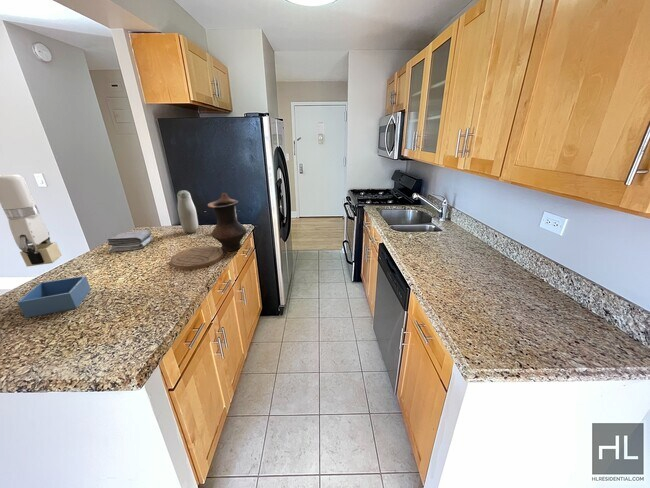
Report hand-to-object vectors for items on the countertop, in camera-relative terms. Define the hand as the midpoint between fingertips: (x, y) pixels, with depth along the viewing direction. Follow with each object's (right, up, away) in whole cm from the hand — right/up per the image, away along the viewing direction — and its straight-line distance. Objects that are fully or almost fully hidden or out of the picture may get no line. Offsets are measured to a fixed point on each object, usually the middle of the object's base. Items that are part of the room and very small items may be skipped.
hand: (44, 258), depth 95 cm
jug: (+49, +3, +54) cm, 74 cm away
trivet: (+37, -2, +41) cm, 55 cm away
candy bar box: (+38, +15, +83) cm, 92 cm away
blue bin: (+2, -17, +5) cm, 18 cm away
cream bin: (0, -1, 0) cm, 1 cm away
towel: (-10, +4, +57) cm, 58 cm away
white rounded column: (+13, +13, +79) cm, 82 cm away
